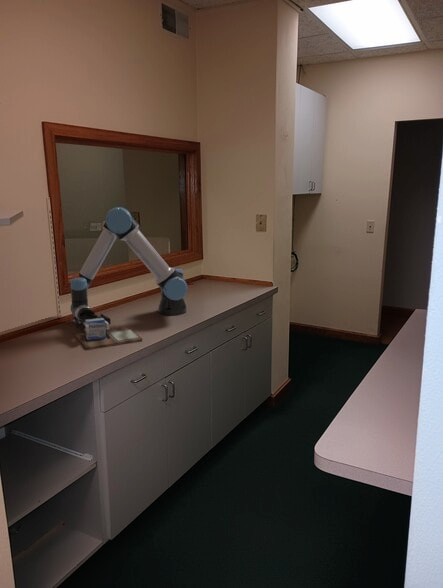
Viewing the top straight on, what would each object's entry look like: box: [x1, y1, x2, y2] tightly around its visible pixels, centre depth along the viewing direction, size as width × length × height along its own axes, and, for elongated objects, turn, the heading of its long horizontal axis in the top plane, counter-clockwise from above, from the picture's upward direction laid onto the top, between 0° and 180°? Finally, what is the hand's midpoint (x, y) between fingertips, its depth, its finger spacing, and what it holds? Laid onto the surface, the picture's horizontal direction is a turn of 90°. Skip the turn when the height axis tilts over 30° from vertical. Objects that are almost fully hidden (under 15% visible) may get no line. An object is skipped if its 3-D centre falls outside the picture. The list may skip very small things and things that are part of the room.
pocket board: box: [75, 326, 143, 351], centre depth 207 cm, size 24×20×1 cm
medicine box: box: [85, 318, 107, 342], centre depth 205 cm, size 8×4×9 cm, turn 117°
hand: (98, 328), depth 201 cm, fingers closed on medicine box, 8 cm apart
